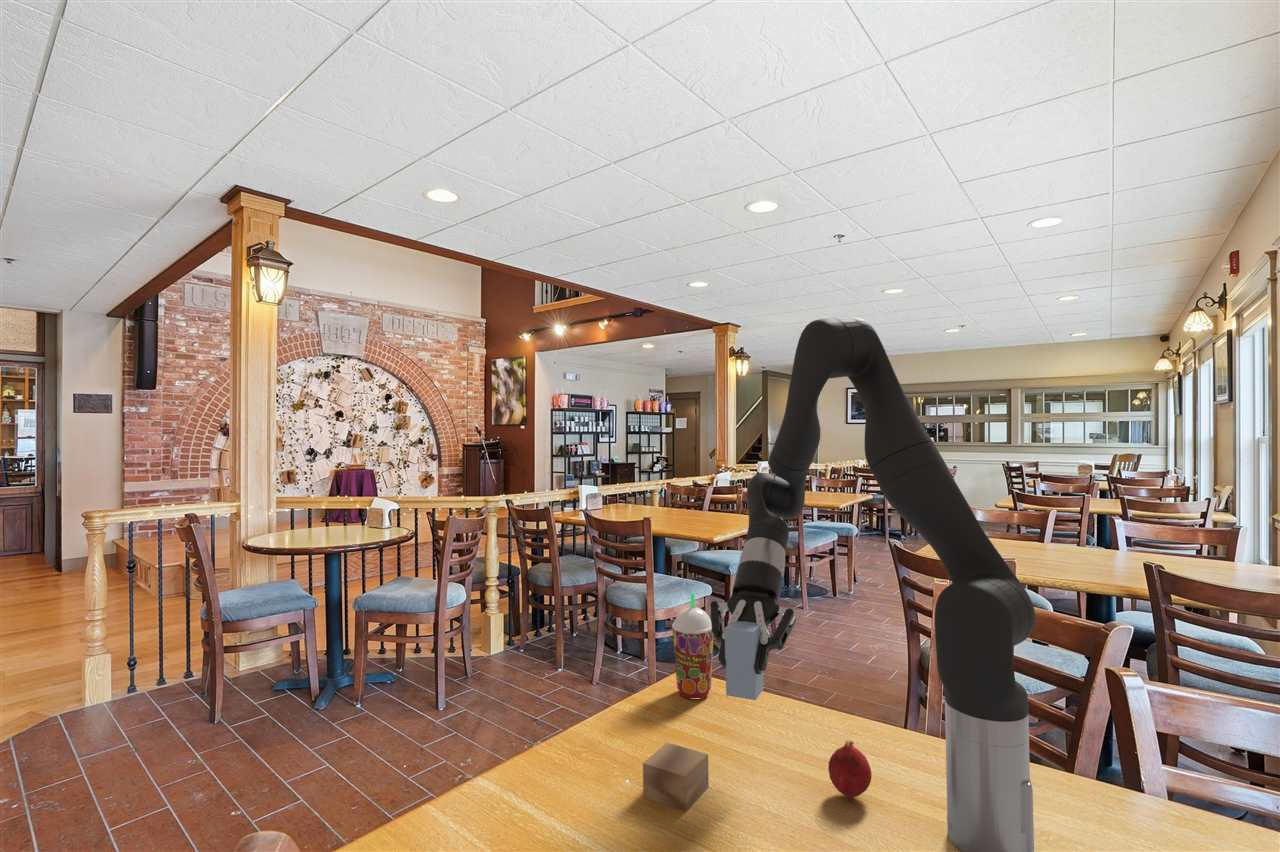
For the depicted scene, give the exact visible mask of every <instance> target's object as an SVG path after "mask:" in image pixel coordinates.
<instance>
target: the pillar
mask: <svg viewBox="0 0 1280 852" xmlns="http://www.w3.org/2000/svg"><path fill="white" fill-rule="evenodd" d="M727 625H728V624H727ZM724 631H725V659H726V669H725V692H726V693H725V694H726V695H725V696H728V697H734V698H739V699H745V700H752V701H757V699H758V697H760V695H761V693H762V692H763V691H764V689H765V688H764V671H762V673H761V675H760V674H756V672H755V670H754V664H755V659H756V653H757V648H758V645H760V638H759V636H760V625H759V624H757V623H754V622H745V621H737V622H733V621H732V622H731V623H730V624H729V625H728V626H725V627H724Z"/></svg>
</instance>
